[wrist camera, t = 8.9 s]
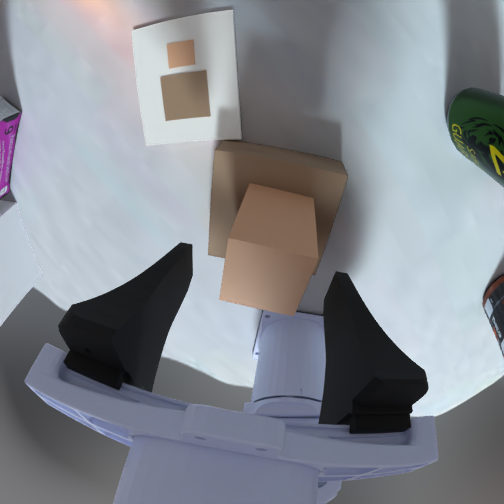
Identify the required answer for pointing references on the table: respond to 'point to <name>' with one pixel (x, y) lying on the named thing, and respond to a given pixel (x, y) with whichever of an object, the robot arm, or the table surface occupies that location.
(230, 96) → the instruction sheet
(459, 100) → the beer can
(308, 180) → the walnut slab
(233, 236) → the terracotta block
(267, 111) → the table surface
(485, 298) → the supplement bottle
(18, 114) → the candy bar box
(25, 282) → the milk
